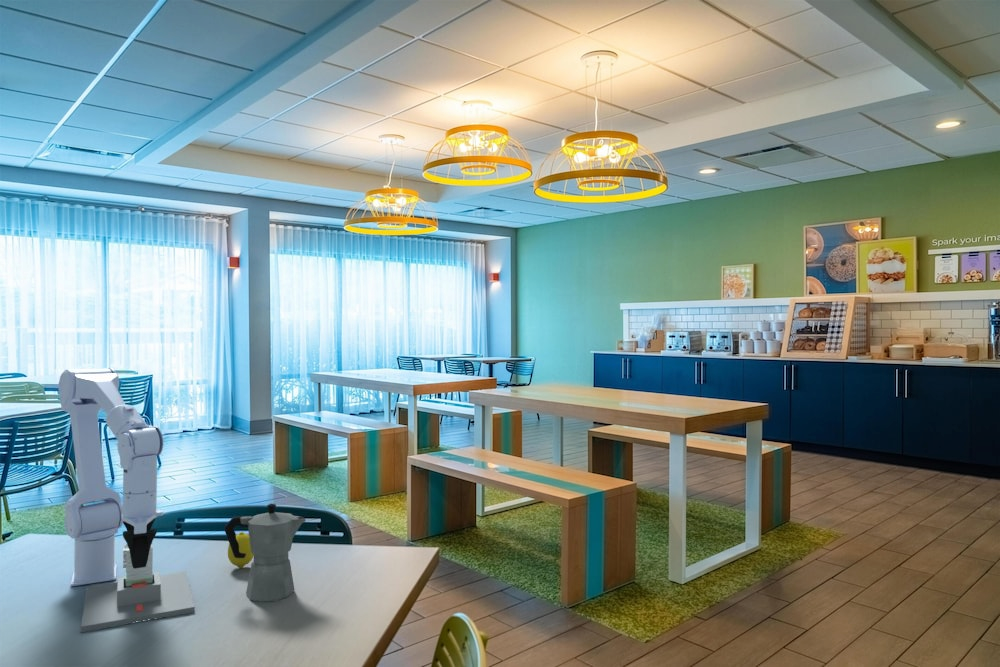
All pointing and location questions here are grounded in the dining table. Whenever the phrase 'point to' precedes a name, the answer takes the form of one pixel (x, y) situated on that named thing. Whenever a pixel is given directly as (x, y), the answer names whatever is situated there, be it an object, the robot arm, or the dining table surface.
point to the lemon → (241, 550)
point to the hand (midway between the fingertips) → (139, 560)
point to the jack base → (136, 601)
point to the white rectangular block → (137, 569)
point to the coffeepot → (267, 552)
